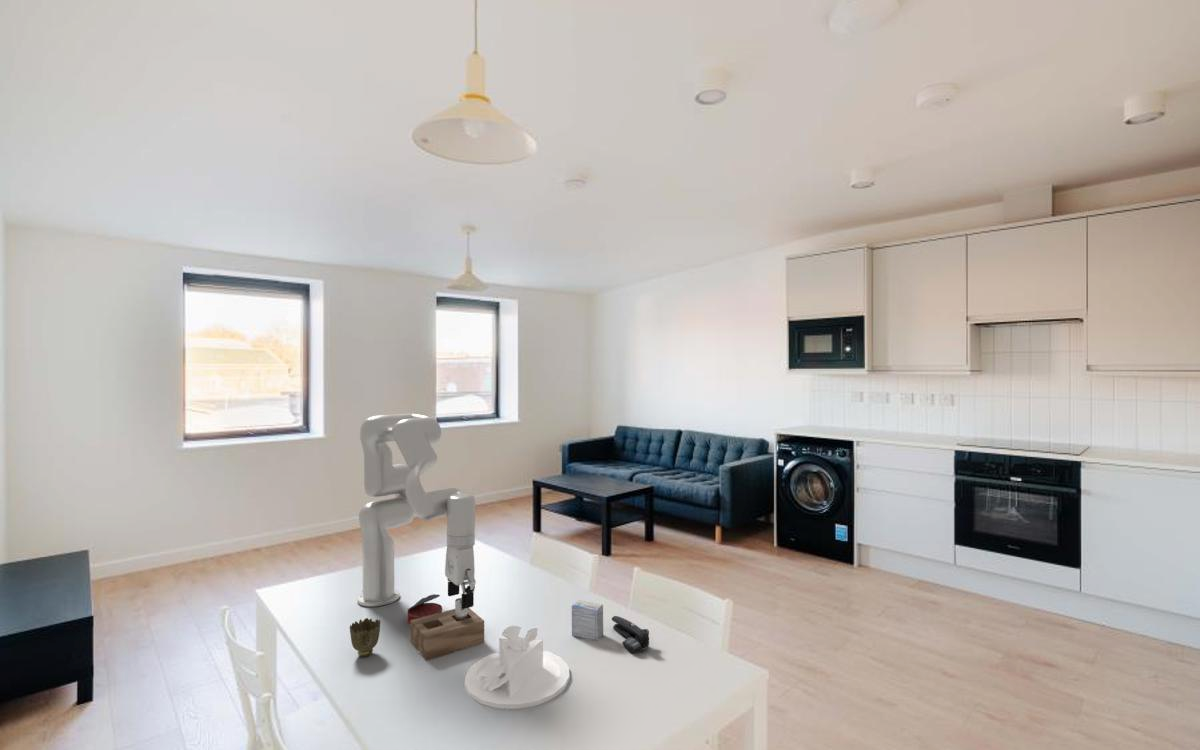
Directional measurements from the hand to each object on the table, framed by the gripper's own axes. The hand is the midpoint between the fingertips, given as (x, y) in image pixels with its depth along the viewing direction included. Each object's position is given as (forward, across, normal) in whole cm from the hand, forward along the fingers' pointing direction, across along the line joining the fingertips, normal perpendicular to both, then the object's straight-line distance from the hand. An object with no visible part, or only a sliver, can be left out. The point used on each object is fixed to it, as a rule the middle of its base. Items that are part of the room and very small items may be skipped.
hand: (460, 601), depth 157 cm
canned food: (+11, -17, -4) cm, 21 cm away
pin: (+9, 0, 0) cm, 9 cm away
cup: (+11, -6, -24) cm, 26 cm away
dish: (+10, +28, +3) cm, 30 cm away
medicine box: (+10, +20, +29) cm, 37 cm away
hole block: (+10, +1, -4) cm, 11 cm away
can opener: (+10, +28, +37) cm, 48 cm away
